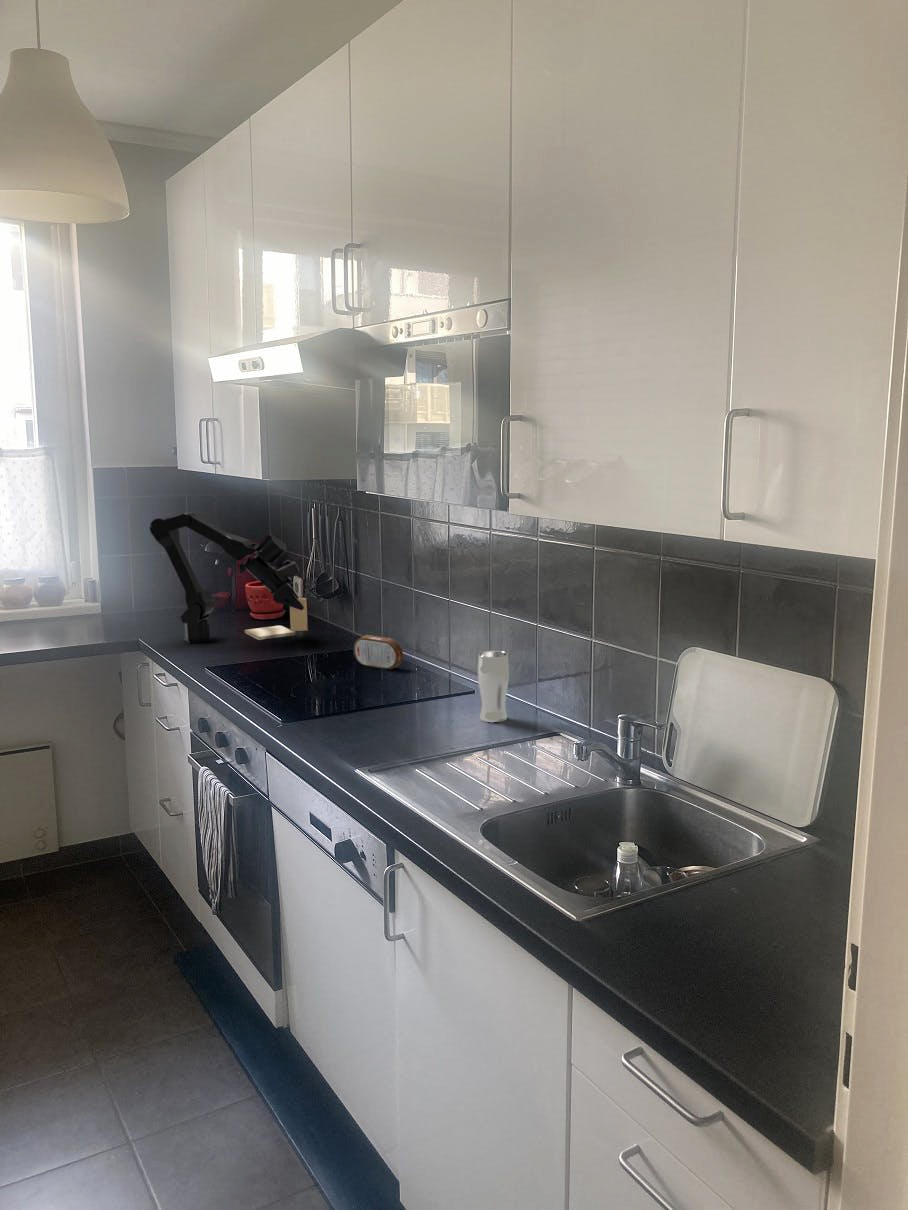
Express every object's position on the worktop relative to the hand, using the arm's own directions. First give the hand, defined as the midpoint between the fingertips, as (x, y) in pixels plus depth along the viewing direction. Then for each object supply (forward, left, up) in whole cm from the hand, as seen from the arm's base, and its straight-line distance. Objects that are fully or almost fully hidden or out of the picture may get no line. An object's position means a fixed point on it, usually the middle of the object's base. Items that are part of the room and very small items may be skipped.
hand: (302, 607), depth 300 cm
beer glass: (+4, -97, -10) cm, 98 cm away
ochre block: (-1, +1, -7) cm, 7 cm away
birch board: (-5, +15, -10) cm, 19 cm away
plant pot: (+4, +41, -10) cm, 42 cm away
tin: (+4, -41, -11) cm, 43 cm away
